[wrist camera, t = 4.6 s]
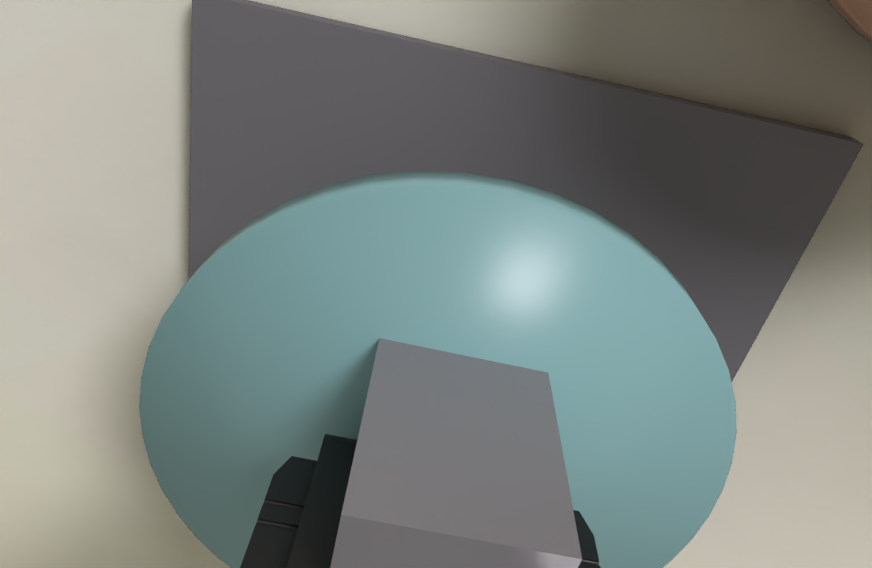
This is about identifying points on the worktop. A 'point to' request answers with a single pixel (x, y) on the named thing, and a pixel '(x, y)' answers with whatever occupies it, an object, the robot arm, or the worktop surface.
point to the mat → (502, 148)
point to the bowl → (856, 14)
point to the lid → (443, 379)
